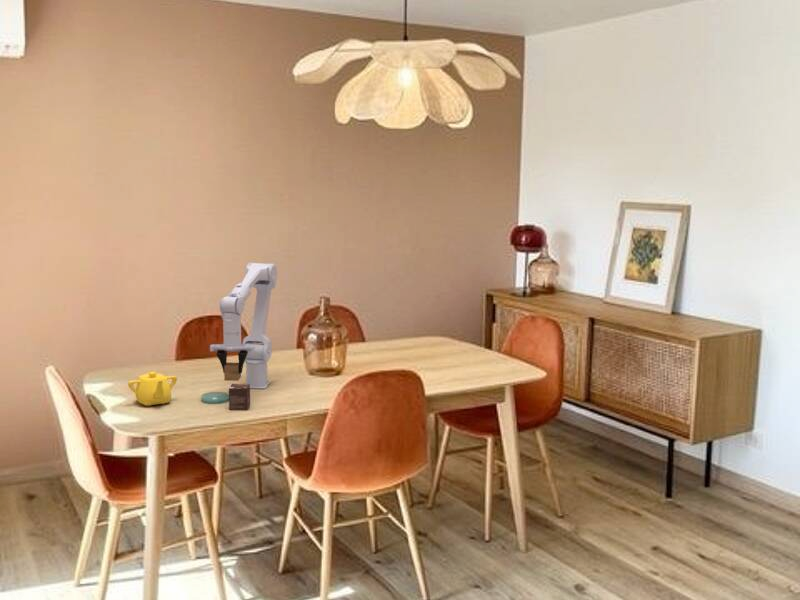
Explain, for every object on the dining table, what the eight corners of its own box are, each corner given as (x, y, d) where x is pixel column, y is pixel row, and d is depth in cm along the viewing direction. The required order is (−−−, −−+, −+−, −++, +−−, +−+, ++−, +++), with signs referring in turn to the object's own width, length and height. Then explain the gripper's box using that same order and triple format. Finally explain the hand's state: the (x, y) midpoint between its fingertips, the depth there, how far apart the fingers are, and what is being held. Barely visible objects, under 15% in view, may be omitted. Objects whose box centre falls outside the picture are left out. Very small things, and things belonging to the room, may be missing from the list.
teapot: (183, 399, 274) (182, 369, 273) (162, 410, 262) (161, 378, 260) (147, 396, 278) (146, 366, 276) (125, 406, 266) (124, 375, 264)
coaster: (205, 397, 279) (205, 391, 278) (231, 397, 278) (231, 392, 278) (198, 404, 270) (198, 398, 269) (225, 405, 270) (225, 399, 269)
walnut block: (227, 376, 275) (227, 362, 275) (240, 377, 275) (240, 362, 274) (224, 380, 271) (224, 365, 270) (238, 380, 271) (237, 366, 270)
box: (250, 405, 269) (250, 383, 268) (247, 410, 263) (247, 388, 262) (231, 405, 269) (231, 383, 268) (228, 410, 263) (228, 388, 262)
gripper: (207, 334, 267) (208, 374, 269) (251, 335, 267) (252, 375, 269) (212, 330, 274) (213, 369, 276) (255, 331, 274) (256, 370, 276)
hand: (232, 372), depth 273 cm, fingers closed on walnut block, 4 cm apart
